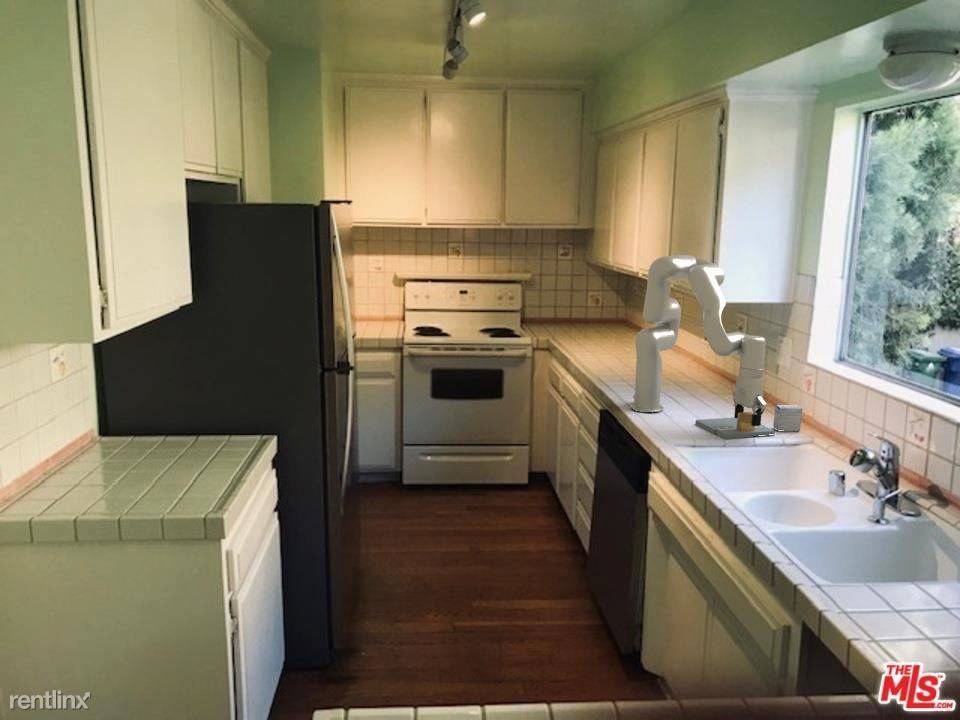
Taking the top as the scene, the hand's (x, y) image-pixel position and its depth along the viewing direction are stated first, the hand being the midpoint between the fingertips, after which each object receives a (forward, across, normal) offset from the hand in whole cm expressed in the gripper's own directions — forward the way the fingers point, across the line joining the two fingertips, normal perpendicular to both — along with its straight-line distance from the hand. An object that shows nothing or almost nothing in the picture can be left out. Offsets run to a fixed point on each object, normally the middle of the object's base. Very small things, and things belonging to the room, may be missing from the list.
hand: (747, 421), depth 252 cm
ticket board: (+5, -9, 0) cm, 11 cm away
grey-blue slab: (+5, 0, 0) cm, 5 cm away
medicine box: (+5, -2, +18) cm, 19 cm away
